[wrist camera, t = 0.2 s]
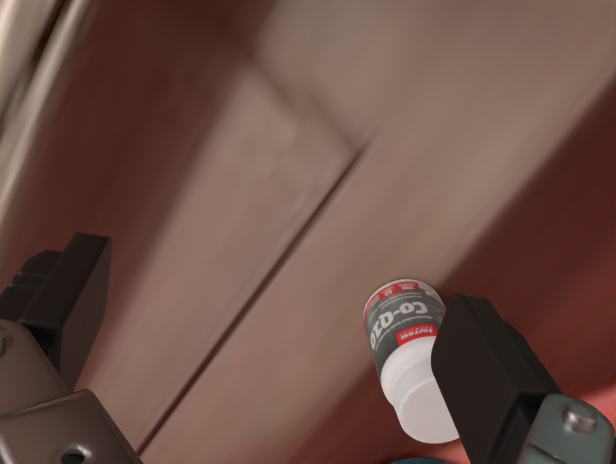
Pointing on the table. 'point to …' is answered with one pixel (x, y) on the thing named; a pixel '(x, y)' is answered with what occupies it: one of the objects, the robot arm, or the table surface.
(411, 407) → the pill bottle
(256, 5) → the table surface
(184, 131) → the table surface
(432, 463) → the bowl
